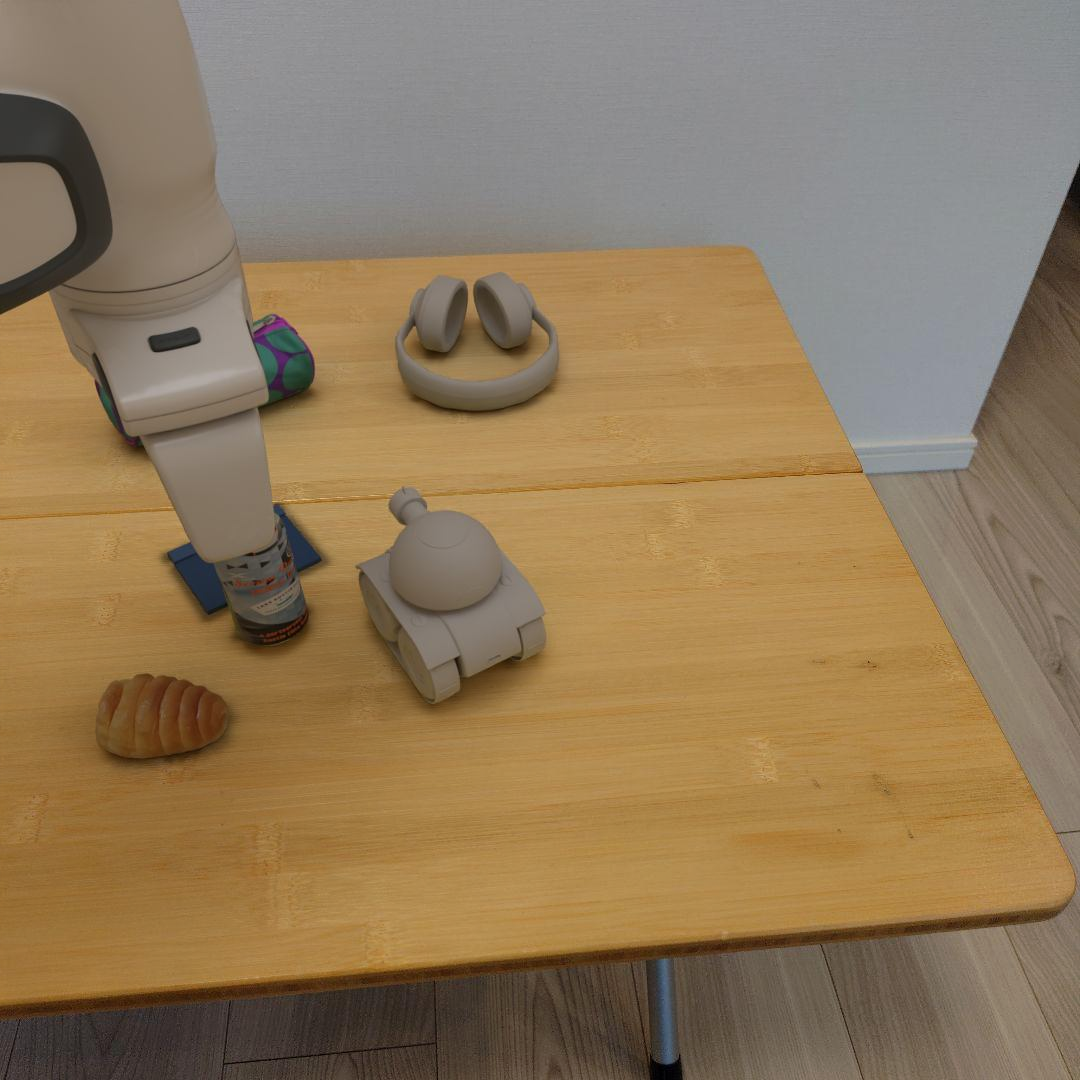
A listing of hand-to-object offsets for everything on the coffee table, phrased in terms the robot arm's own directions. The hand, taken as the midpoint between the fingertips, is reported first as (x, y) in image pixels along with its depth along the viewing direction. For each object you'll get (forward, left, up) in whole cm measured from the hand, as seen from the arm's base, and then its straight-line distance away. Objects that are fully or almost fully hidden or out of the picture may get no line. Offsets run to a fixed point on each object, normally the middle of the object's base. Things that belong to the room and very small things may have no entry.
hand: (214, 511), depth 56 cm
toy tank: (+16, +1, -24) cm, 29 cm away
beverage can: (+5, +12, -25) cm, 27 cm away
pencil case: (+13, +42, -24) cm, 51 cm away
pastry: (-7, +7, -24) cm, 26 cm away
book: (+6, +20, -24) cm, 32 cm away
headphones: (+41, +33, -24) cm, 58 cm away
